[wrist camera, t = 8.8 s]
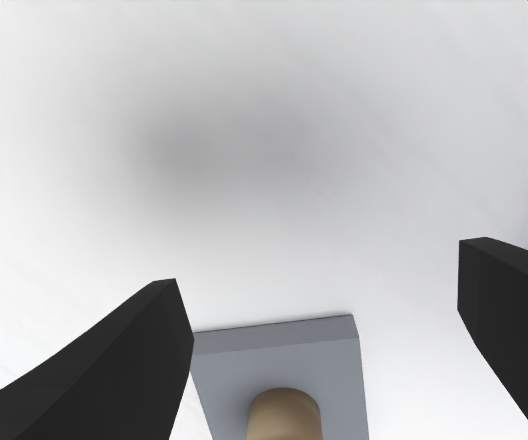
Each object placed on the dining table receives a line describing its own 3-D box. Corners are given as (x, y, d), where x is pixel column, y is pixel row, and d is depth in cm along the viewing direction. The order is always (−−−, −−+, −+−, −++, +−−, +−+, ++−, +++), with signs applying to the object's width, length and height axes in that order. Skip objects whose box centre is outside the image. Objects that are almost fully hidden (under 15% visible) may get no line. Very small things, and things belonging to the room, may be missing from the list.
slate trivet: (352, 314, 22) (359, 337, 20) (364, 430, 26) (371, 458, 24) (192, 333, 23) (185, 356, 21) (226, 441, 27) (222, 468, 25)
